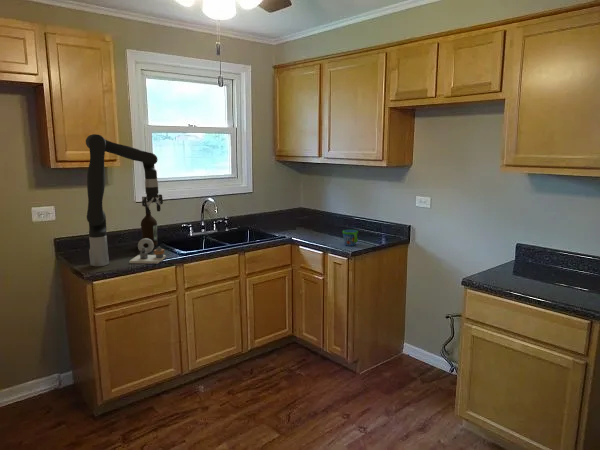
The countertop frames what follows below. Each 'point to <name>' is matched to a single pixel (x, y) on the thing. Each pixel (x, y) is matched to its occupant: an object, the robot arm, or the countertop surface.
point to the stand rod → (143, 254)
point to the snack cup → (350, 237)
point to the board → (149, 260)
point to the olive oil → (149, 228)
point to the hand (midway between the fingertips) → (153, 212)
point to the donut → (148, 241)
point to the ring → (159, 251)
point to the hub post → (159, 254)
